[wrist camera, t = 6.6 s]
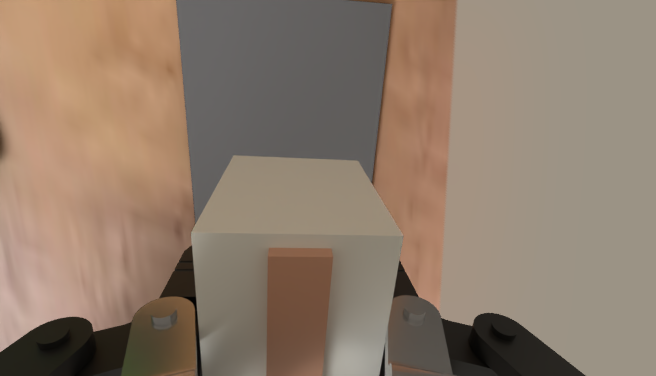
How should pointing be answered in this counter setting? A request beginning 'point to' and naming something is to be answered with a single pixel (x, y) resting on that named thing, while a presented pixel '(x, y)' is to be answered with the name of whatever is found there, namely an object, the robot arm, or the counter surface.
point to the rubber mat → (280, 82)
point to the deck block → (294, 270)
